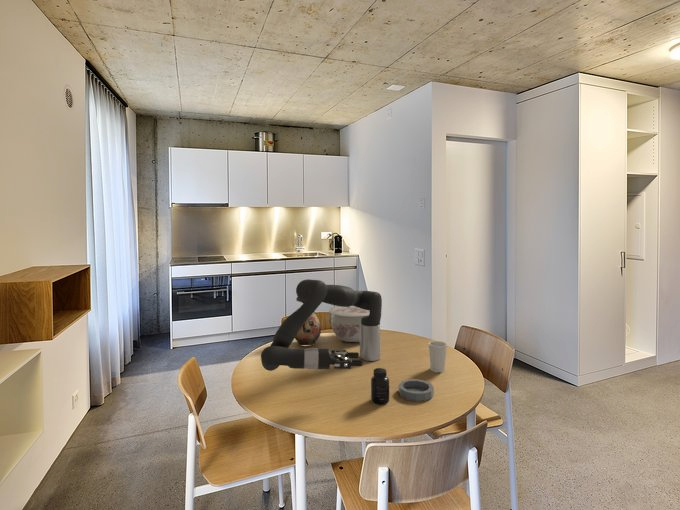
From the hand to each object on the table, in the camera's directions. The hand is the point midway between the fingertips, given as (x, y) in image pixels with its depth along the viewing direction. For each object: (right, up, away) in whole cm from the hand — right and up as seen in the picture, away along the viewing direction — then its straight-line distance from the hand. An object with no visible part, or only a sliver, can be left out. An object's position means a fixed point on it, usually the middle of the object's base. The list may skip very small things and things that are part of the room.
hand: (360, 359), depth 145 cm
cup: (+37, -14, +32) cm, 50 cm away
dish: (+22, -16, +8) cm, 28 cm away
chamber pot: (0, -10, +79) cm, 80 cm away
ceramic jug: (-25, -11, +72) cm, 77 cm away
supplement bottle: (+8, -17, +2) cm, 18 cm away
